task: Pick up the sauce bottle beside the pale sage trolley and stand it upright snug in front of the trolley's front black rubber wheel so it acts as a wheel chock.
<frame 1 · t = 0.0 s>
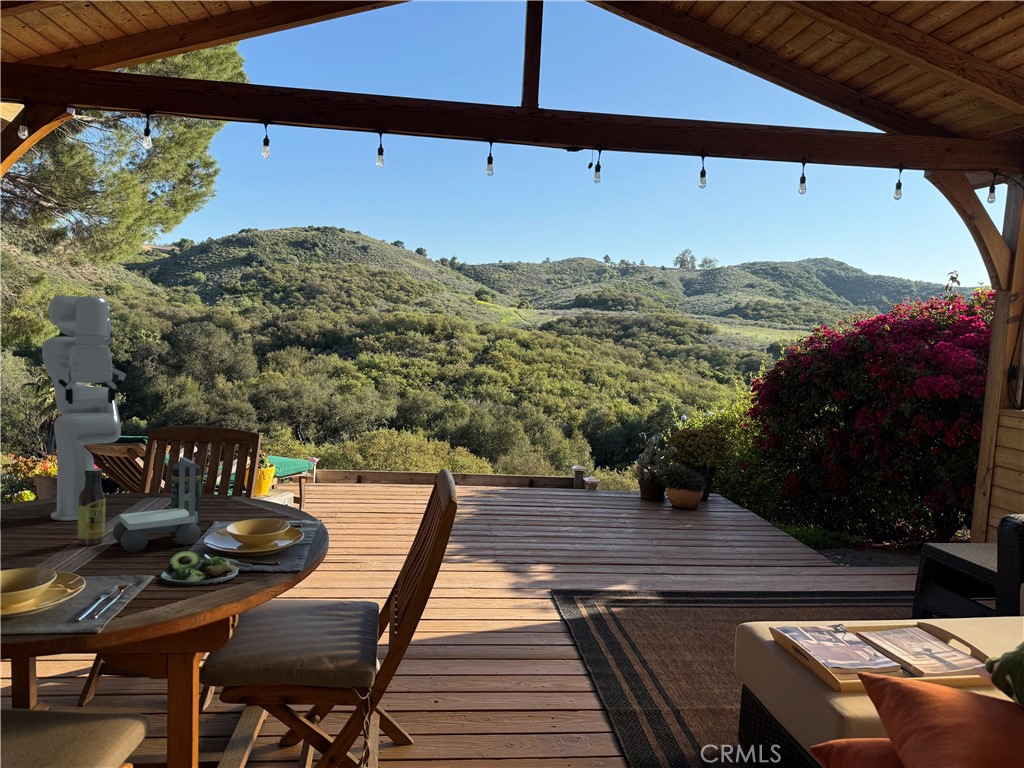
hand: (90, 403, 193), 37 cm above the table, tool pointing down, fingers open, 9 cm apart
trolley: (156, 543, 188), on the table
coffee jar: (185, 524, 210), on the table
sauce bottle: (91, 543, 186), on the table
salad plate: (199, 576, 165), on the table
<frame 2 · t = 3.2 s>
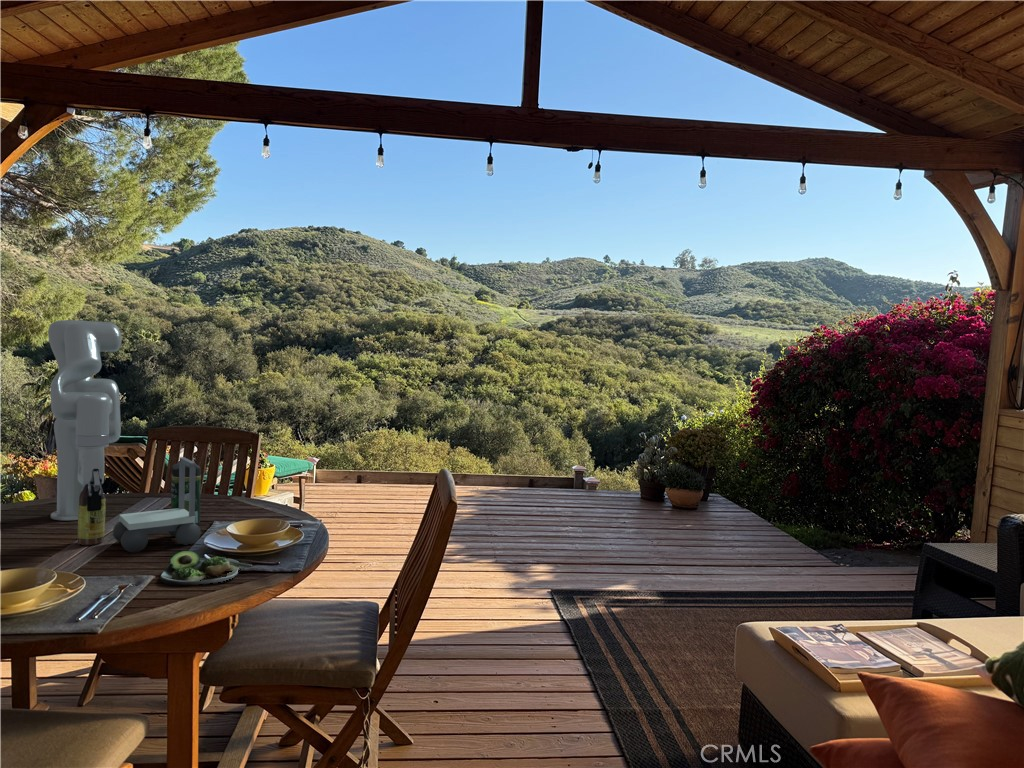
hand: (91, 507, 186), 10 cm above the table, tool pointing down, fingers closed on sauce bottle, 6 cm apart
sauce bottle: (91, 543, 186), on the table, touching gripper
everything else where it was.
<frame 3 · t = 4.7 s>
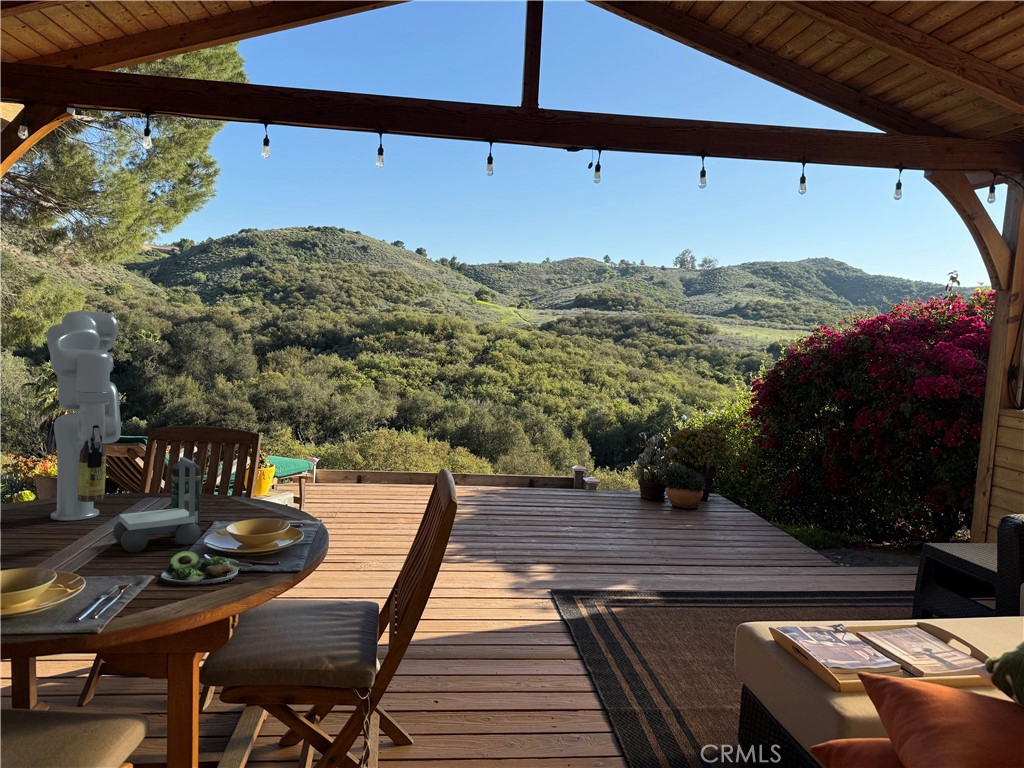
hand: (92, 464, 186), 21 cm above the table, tool pointing down, fingers closed on sauce bottle, 6 cm apart
sauce bottle: (91, 500, 186), point 11 cm above the table, touching gripper
everything else where it was.
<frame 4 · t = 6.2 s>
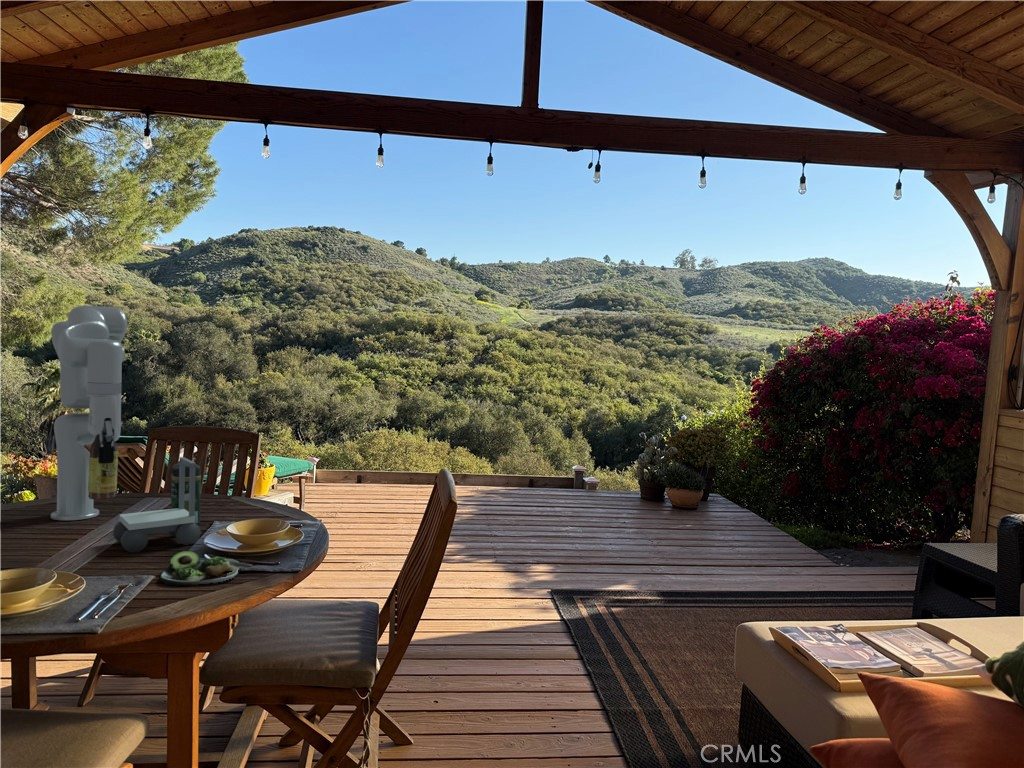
hand: (103, 460, 175), 24 cm above the table, tool pointing down, fingers closed on sauce bottle, 6 cm apart
sauce bottle: (102, 498, 175), point 15 cm above the table, touching gripper
everything else where it was.
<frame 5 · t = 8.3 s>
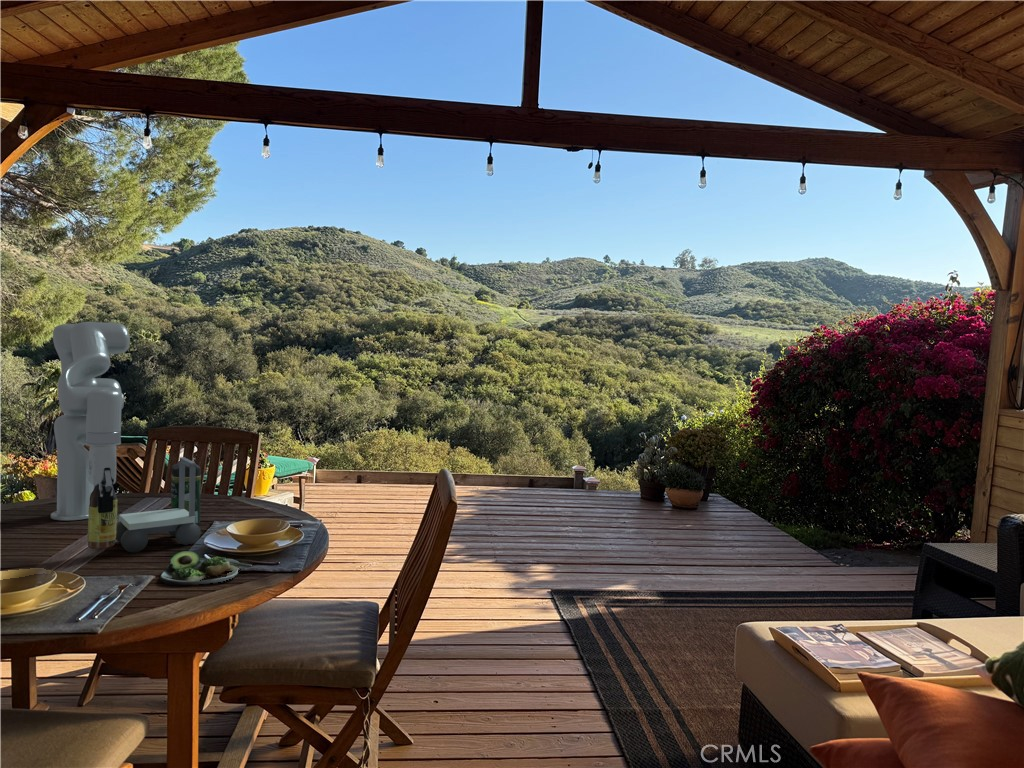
hand: (102, 508, 175), 12 cm above the table, tool pointing down, fingers closed on sauce bottle, 6 cm apart
sauce bottle: (102, 547, 176), point 2 cm above the table, touching gripper
everything else where it was.
when the fingers open (10 cm above the table, at t = 9.6 s): sauce bottle stays where it is, on the table.
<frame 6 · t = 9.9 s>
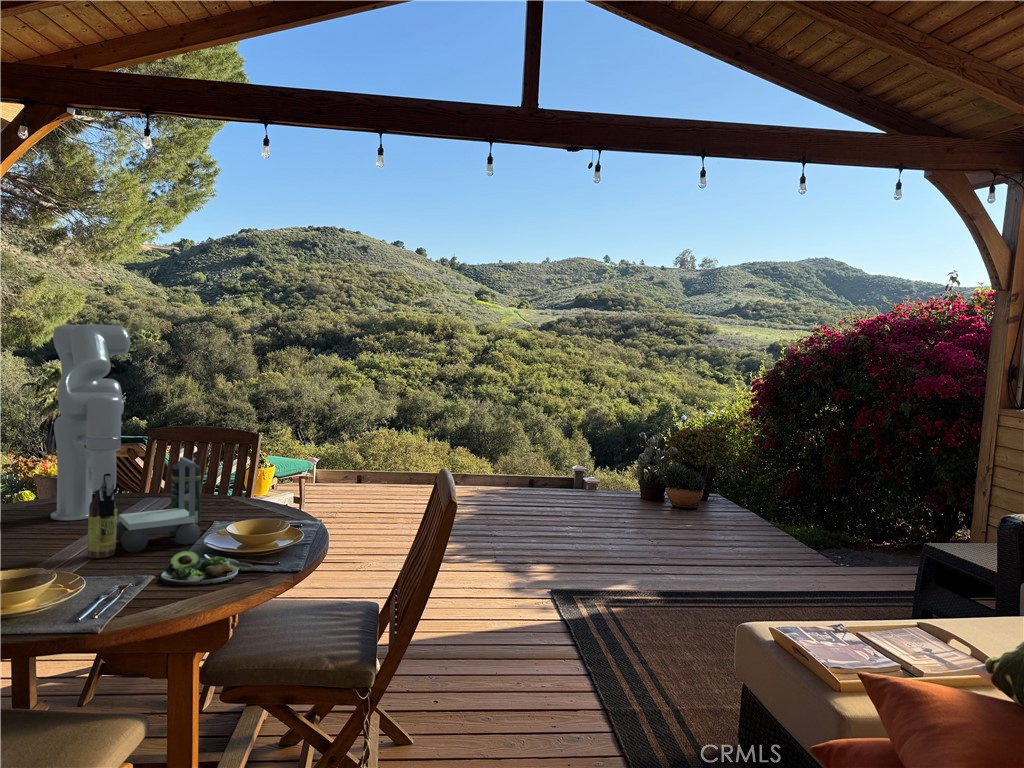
hand: (102, 512, 175), 11 cm above the table, tool pointing down, fingers open, 8 cm apart
sauce bottle: (102, 556, 176), on the table
everything else where it was.
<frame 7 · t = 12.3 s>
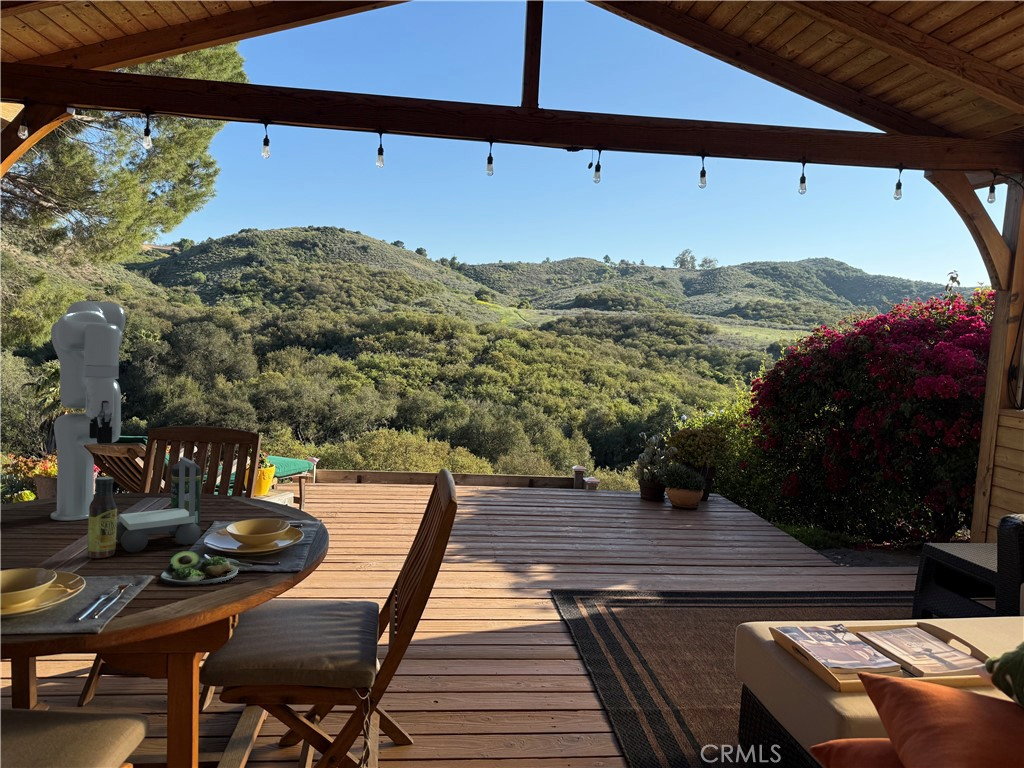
hand: (100, 440, 175), 29 cm above the table, tool pointing down, fingers open, 9 cm apart
nothing on the table moved.
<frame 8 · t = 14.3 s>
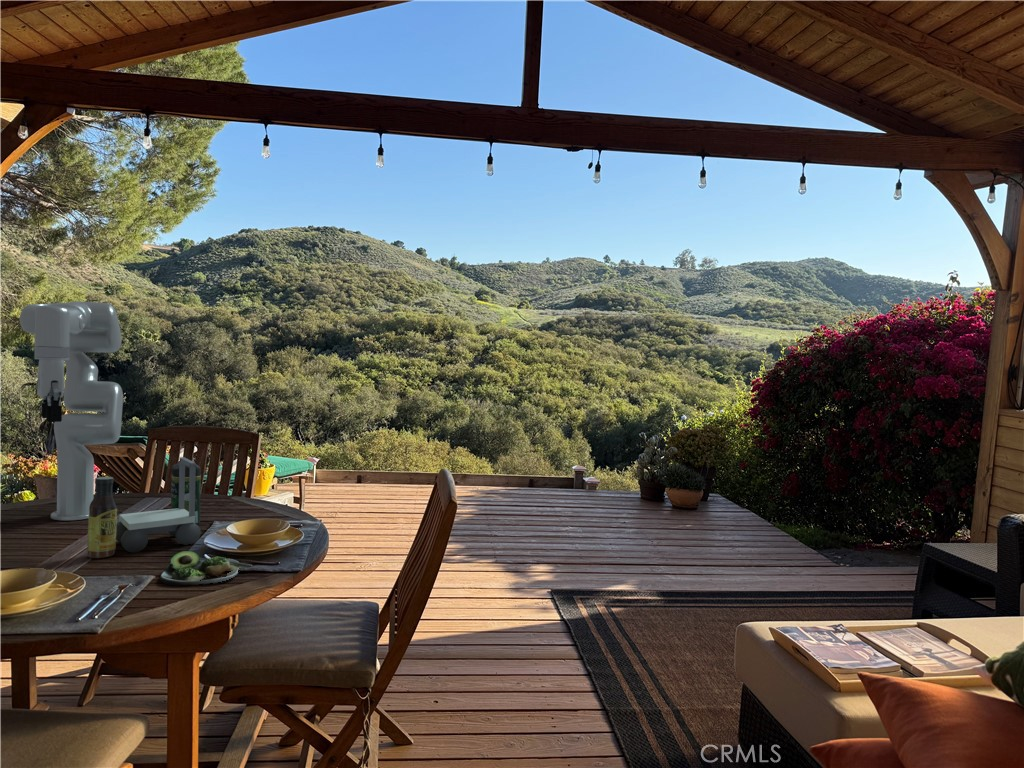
hand: (51, 419, 180), 33 cm above the table, tool pointing down, fingers open, 9 cm apart
nothing on the table moved.
at the end: sauce bottle 0.2 cm from the target spot on the table beside the trolley, on the table; sauce bottle tilted 0°; the gripper is holding nothing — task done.
